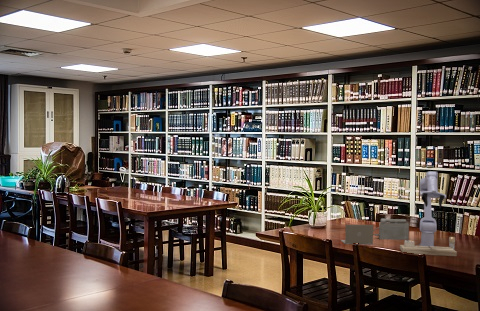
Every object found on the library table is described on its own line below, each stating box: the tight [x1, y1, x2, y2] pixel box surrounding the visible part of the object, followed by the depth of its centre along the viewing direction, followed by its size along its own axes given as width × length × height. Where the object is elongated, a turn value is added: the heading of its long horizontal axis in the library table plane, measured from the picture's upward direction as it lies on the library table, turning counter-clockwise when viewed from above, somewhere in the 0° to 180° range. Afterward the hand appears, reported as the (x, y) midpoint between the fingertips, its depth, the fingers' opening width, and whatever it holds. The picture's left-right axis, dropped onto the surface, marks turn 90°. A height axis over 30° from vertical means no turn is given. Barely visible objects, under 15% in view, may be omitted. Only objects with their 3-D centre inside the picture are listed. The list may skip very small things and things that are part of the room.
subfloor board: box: [399, 244, 458, 257], centre depth 307 cm, size 13×30×3 cm, turn 82°
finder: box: [403, 239, 415, 247], centre depth 312 cm, size 5×5×3 cm
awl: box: [448, 236, 456, 250], centre depth 315 cm, size 3×3×8 cm
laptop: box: [340, 224, 374, 245], centre depth 334 cm, size 18×12×13 cm
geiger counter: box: [373, 218, 410, 241], centre depth 347 cm, size 14×6×25 cm
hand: (433, 206), depth 296 cm, fingers open, 7 cm apart
